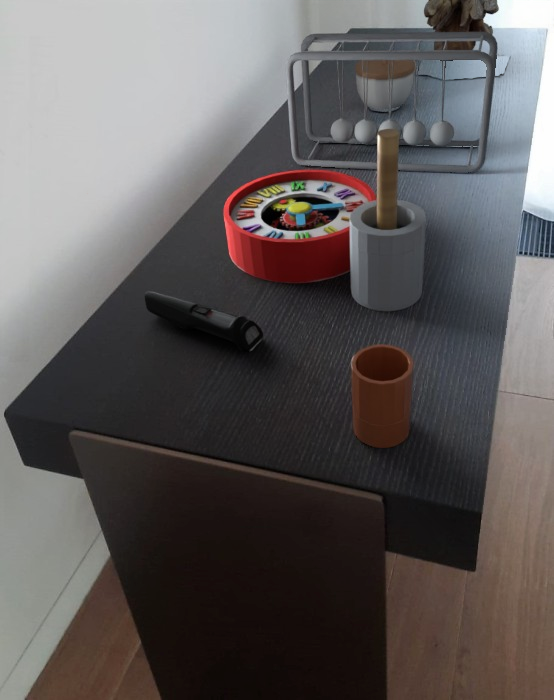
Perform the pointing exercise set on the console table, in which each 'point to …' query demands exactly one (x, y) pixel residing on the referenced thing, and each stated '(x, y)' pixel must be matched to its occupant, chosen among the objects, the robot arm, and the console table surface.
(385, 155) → the brush
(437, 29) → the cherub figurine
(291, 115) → the newton's cradle
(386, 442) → the pot
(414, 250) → the grey hollow cylinder
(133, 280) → the console table surface
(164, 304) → the electric trimmer
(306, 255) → the toy clock
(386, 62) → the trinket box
